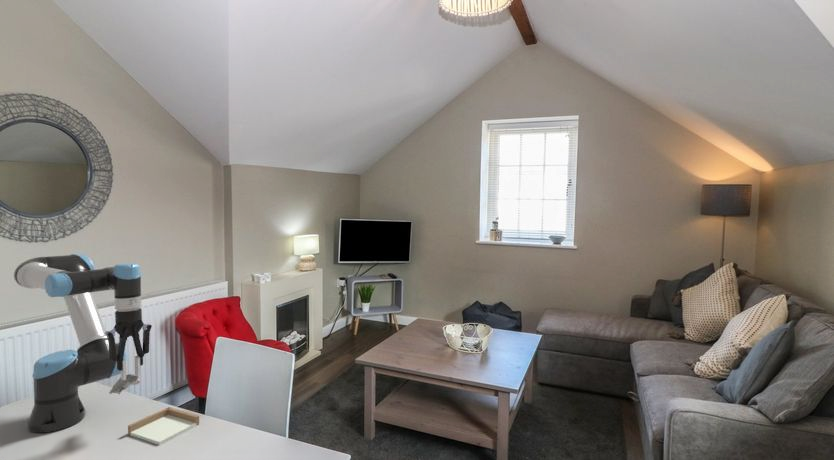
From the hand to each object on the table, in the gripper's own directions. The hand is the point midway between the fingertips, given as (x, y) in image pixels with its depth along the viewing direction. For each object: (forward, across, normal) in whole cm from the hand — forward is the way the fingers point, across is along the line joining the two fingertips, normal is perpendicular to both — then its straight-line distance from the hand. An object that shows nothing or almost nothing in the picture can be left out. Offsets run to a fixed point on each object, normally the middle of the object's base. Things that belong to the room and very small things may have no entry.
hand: (130, 377), depth 149 cm
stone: (+4, +3, -1) cm, 5 cm away
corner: (+17, +6, -11) cm, 21 cm away
